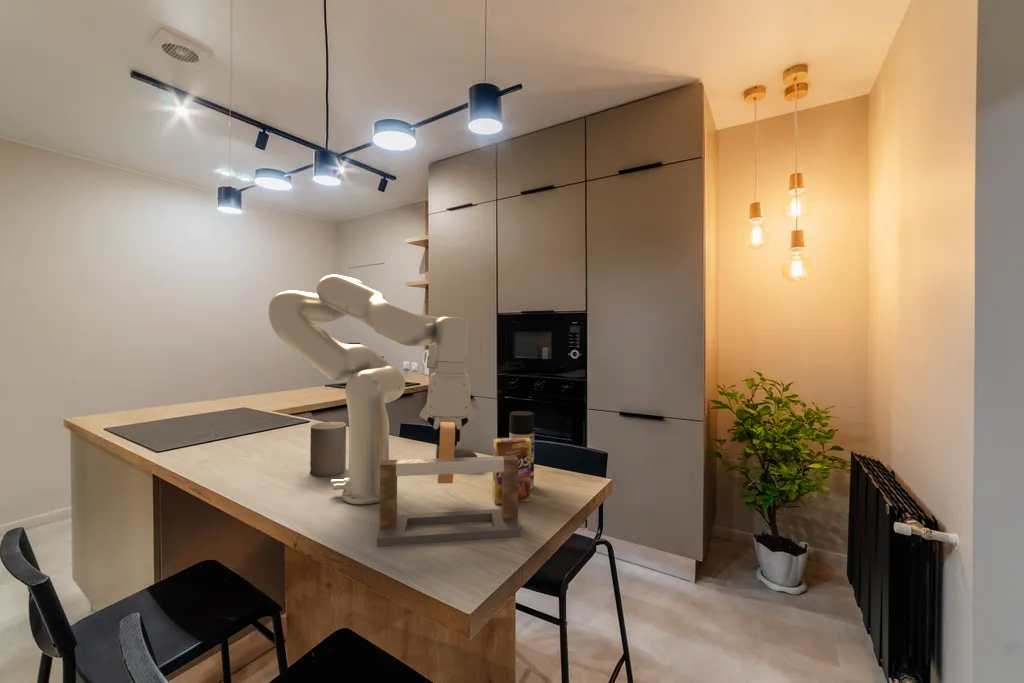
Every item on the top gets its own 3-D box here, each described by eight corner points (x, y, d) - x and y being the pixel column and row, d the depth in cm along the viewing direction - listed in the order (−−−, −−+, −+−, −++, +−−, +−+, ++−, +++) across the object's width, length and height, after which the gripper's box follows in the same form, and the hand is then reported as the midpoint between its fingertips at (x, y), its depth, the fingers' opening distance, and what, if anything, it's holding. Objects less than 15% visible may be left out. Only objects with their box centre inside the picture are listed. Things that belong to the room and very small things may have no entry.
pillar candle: (302, 474, 117) (302, 422, 116) (328, 464, 126) (328, 416, 126) (328, 478, 113) (328, 425, 113) (353, 468, 122) (353, 418, 122)
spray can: (531, 493, 105) (532, 415, 104) (506, 490, 106) (507, 414, 106) (535, 484, 111) (536, 411, 111) (511, 482, 112) (512, 410, 112)
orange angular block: (452, 483, 93) (455, 431, 93) (437, 483, 93) (440, 431, 92) (452, 469, 103) (454, 422, 102) (438, 469, 102) (440, 422, 102)
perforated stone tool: (483, 470, 123) (483, 447, 122) (473, 475, 118) (473, 451, 118) (445, 461, 130) (445, 440, 130) (434, 465, 126) (434, 443, 126)
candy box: (495, 505, 97) (495, 441, 97) (491, 498, 101) (492, 437, 101) (530, 502, 99) (531, 440, 99) (526, 495, 103) (527, 435, 103)
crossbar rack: (376, 546, 78) (377, 470, 77) (384, 522, 87) (384, 455, 87) (520, 536, 82) (521, 464, 82) (512, 514, 92) (513, 450, 92)
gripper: (413, 368, 92) (410, 449, 93) (486, 371, 95) (482, 449, 95) (416, 365, 100) (412, 440, 100) (483, 368, 102) (479, 440, 103)
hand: (446, 443), depth 98 cm, fingers closed on orange angular block, 3 cm apart
